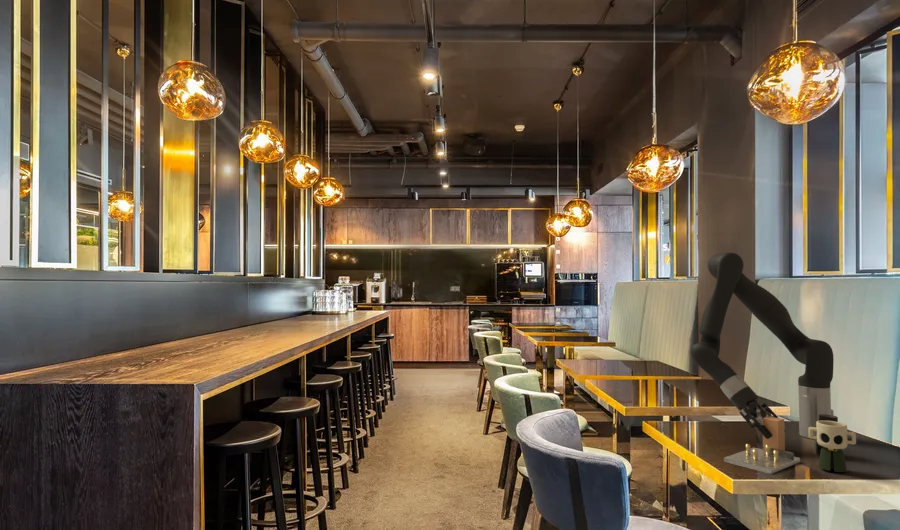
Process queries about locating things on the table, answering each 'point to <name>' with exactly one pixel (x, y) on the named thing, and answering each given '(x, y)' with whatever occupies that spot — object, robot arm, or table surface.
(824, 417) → the supplement bottle
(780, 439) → the block
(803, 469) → the table surface
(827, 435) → the character mug
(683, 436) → the table surface
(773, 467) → the plate
